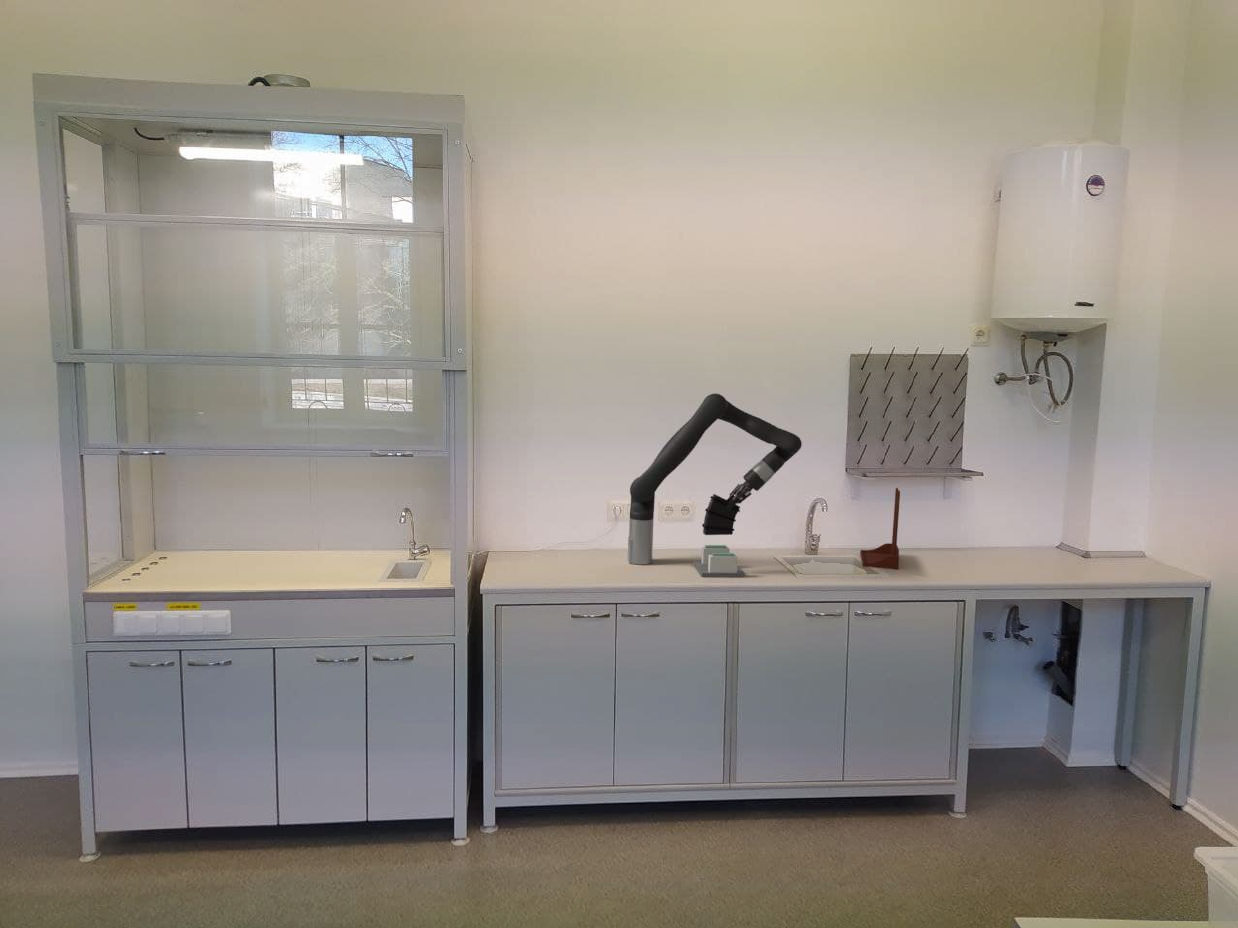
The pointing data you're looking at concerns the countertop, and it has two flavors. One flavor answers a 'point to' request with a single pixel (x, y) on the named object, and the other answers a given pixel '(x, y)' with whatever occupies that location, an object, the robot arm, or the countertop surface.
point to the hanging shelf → (885, 547)
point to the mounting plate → (718, 562)
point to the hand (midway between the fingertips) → (725, 507)
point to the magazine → (719, 517)
